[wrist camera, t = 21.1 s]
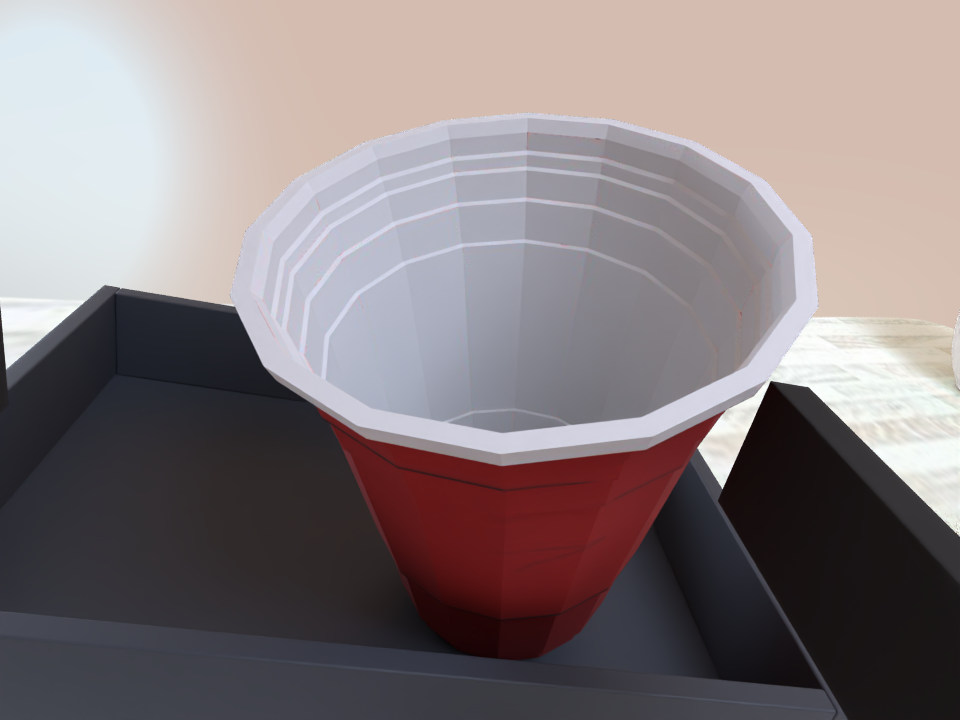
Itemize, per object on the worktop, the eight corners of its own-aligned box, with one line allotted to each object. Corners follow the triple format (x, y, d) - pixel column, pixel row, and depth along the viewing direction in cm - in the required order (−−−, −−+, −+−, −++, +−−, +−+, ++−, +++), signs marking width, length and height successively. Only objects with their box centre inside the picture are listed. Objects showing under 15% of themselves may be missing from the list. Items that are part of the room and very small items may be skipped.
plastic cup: (246, 553, 21) (125, 190, 14) (510, 399, 27) (530, 77, 19) (475, 887, 15) (489, 565, 7) (759, 598, 21) (939, 237, 13)
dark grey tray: (-227, 761, 14) (-279, 611, 12) (106, 378, 28) (104, 284, 27) (789, 825, 17) (862, 714, 16) (624, 453, 32) (653, 374, 30)
